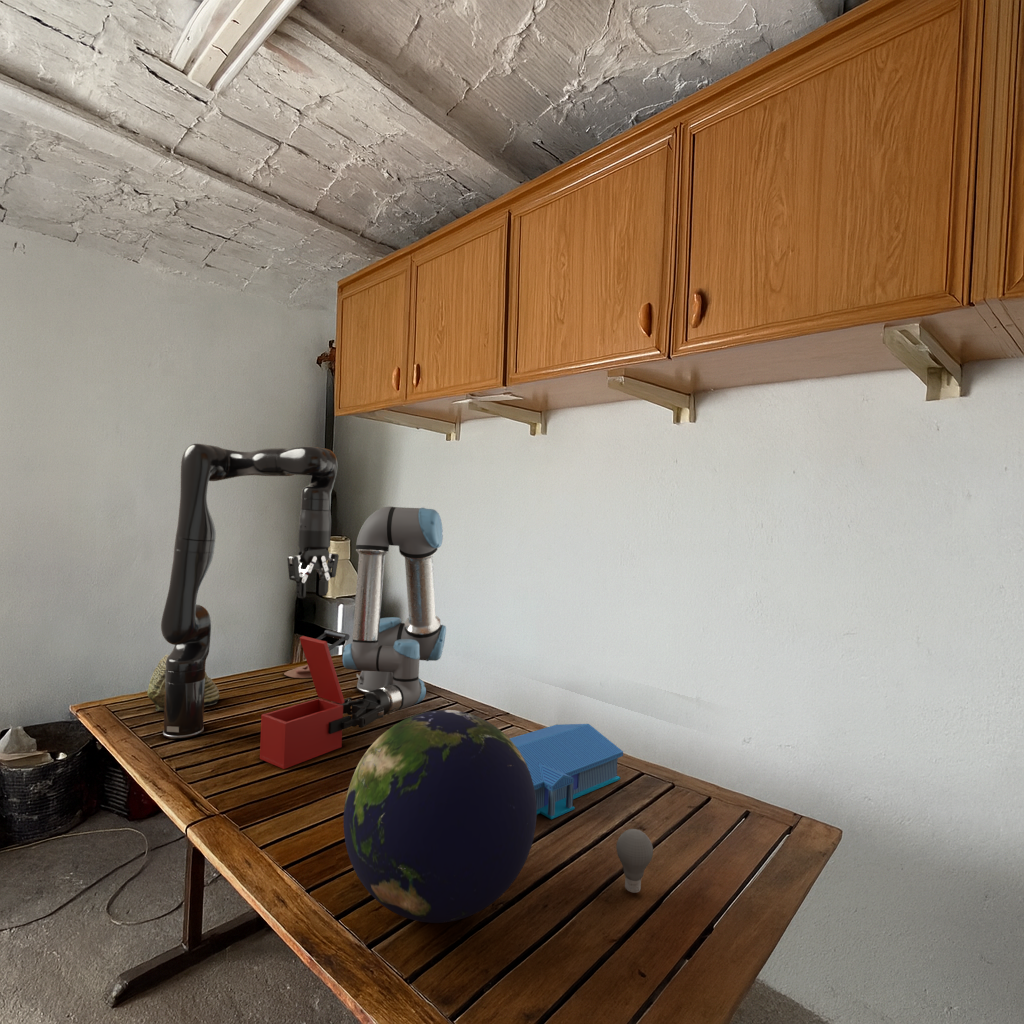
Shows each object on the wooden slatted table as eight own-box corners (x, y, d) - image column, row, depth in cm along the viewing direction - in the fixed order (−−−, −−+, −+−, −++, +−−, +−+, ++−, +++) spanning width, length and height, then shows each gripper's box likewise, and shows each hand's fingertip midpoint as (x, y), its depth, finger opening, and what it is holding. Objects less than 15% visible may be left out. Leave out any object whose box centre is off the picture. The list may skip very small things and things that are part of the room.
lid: (323, 643, 154) (348, 626, 160) (299, 637, 159) (324, 621, 166) (341, 704, 160) (365, 685, 166) (317, 696, 165) (341, 678, 171)
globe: (296, 934, 92) (304, 728, 91) (406, 836, 119) (412, 678, 119) (484, 1004, 80) (494, 770, 80) (557, 878, 108) (565, 703, 108)
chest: (283, 769, 146) (285, 723, 146) (259, 758, 151) (261, 714, 151) (341, 747, 160) (343, 705, 160) (317, 738, 165) (319, 697, 165)
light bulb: (610, 879, 108) (613, 822, 108) (644, 879, 109) (647, 822, 109) (619, 902, 102) (622, 840, 102) (655, 901, 103) (658, 840, 103)
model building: (505, 839, 120) (507, 787, 120) (430, 791, 138) (432, 746, 138) (631, 784, 146) (633, 741, 146) (555, 749, 164) (556, 711, 164)
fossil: (144, 707, 182) (145, 655, 182) (212, 696, 194) (213, 647, 194) (151, 716, 175) (153, 662, 175) (221, 703, 188) (223, 653, 188)
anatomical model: (279, 664, 218) (297, 657, 229) (279, 676, 218) (296, 668, 229) (314, 668, 215) (331, 660, 227) (314, 680, 216) (330, 671, 227)
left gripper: (300, 529, 148) (297, 601, 148) (347, 529, 160) (345, 595, 160) (280, 527, 152) (277, 597, 152) (327, 527, 164) (325, 592, 164)
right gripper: (409, 724, 172) (345, 749, 153) (353, 706, 184) (288, 728, 165) (410, 696, 172) (346, 718, 153) (354, 681, 184) (289, 699, 165)
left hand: (312, 596), depth 156 cm, fingers open, 6 cm apart
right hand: (316, 723), depth 159 cm, fingers closed on chest, 9 cm apart
